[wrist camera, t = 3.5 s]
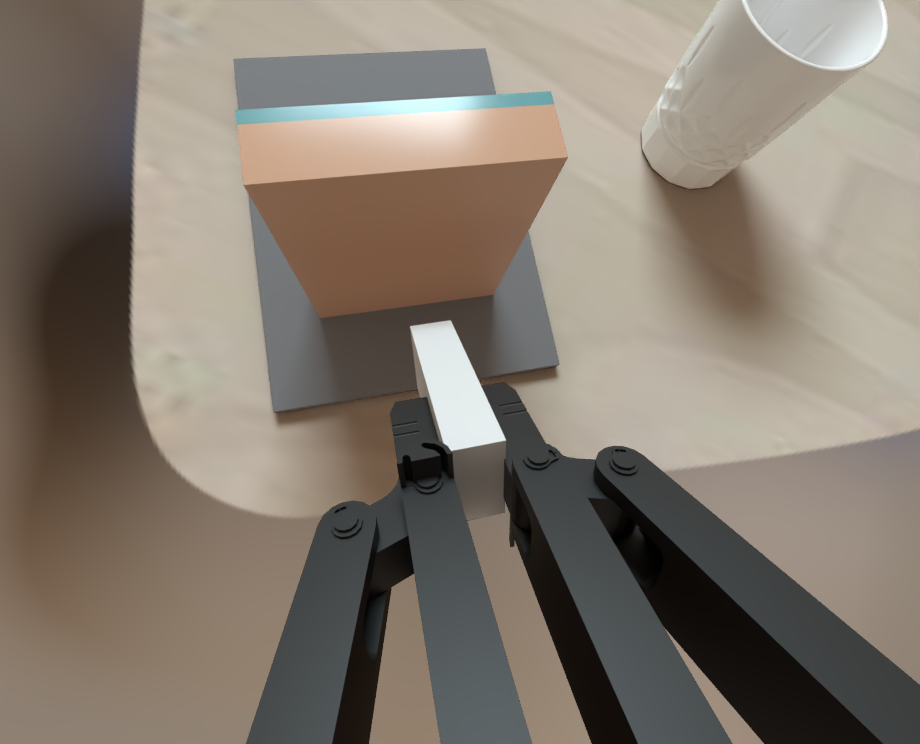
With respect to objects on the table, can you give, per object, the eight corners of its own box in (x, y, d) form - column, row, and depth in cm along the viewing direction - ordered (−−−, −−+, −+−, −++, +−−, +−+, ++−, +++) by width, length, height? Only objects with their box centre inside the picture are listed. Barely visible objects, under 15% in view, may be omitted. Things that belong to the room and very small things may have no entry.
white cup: (756, 179, 31) (918, 49, 21) (664, 212, 29) (793, 88, 20) (703, 87, 32) (834, -76, 22) (612, 114, 30) (710, -49, 21)
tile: (493, 294, 26) (568, 157, 14) (320, 318, 24) (243, 184, 13) (485, 255, 26) (551, 91, 15) (314, 276, 25) (235, 110, 13)
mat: (555, 366, 26) (559, 364, 26) (276, 413, 24) (273, 411, 23) (483, 56, 30) (485, 48, 29) (236, 67, 27) (233, 58, 27)
